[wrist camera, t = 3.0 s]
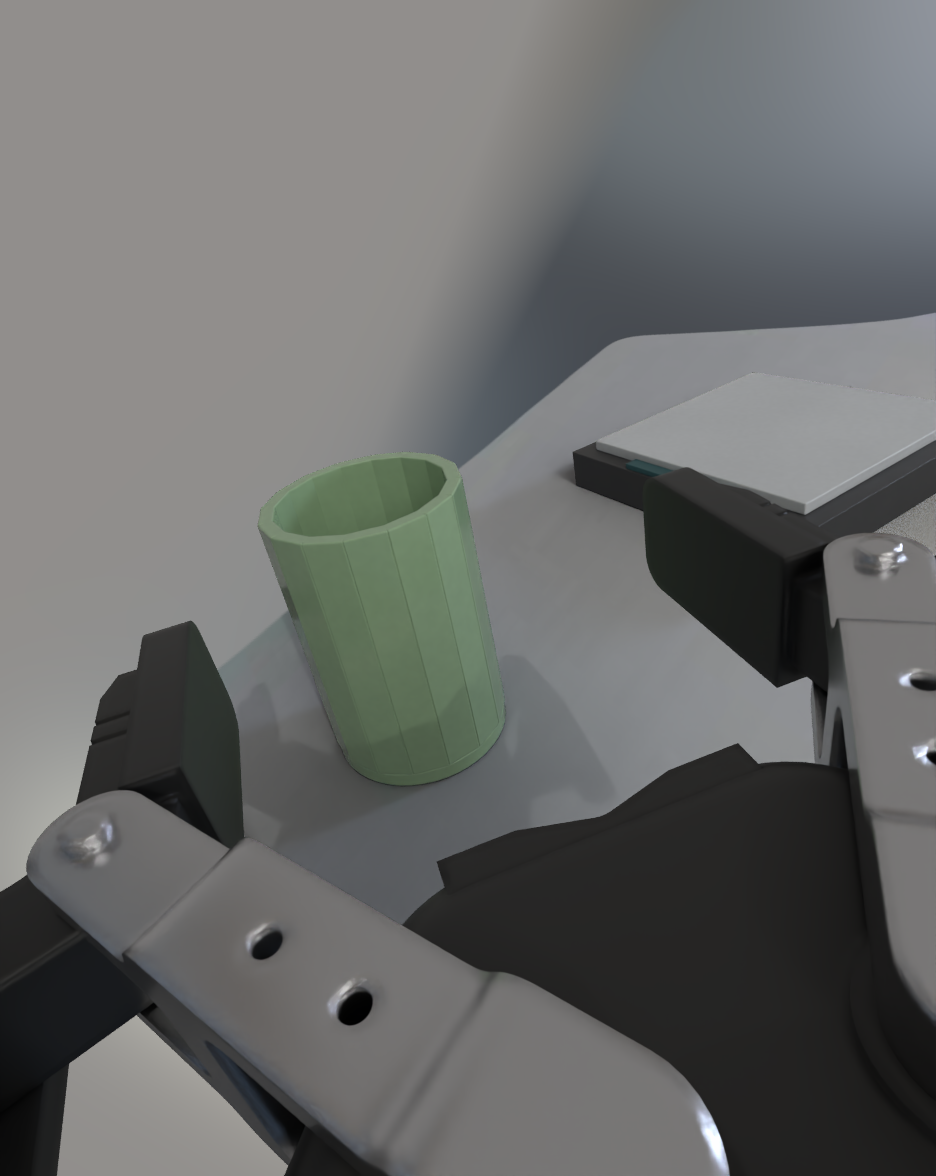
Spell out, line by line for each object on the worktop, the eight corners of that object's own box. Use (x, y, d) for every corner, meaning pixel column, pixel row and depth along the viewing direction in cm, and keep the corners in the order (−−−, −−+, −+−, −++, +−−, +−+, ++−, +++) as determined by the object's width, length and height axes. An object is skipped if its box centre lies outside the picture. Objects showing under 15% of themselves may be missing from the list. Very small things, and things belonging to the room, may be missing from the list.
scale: (807, 573, 32) (811, 518, 31) (575, 484, 44) (571, 442, 43) (998, 454, 38) (1010, 403, 37) (749, 405, 50) (750, 365, 49)
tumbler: (388, 817, 24) (301, 568, 19) (316, 720, 29) (232, 502, 24) (540, 724, 27) (500, 482, 22) (450, 649, 32) (400, 438, 27)
